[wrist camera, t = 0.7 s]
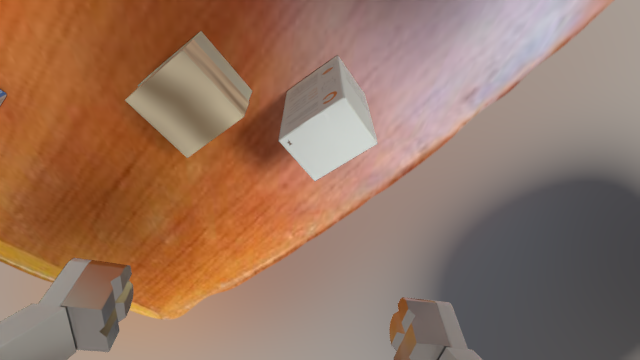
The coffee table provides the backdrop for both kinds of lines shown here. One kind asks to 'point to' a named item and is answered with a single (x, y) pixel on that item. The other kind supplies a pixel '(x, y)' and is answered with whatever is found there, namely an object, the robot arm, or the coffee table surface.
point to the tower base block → (218, 60)
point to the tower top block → (189, 100)
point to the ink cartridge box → (2, 96)
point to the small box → (326, 120)
